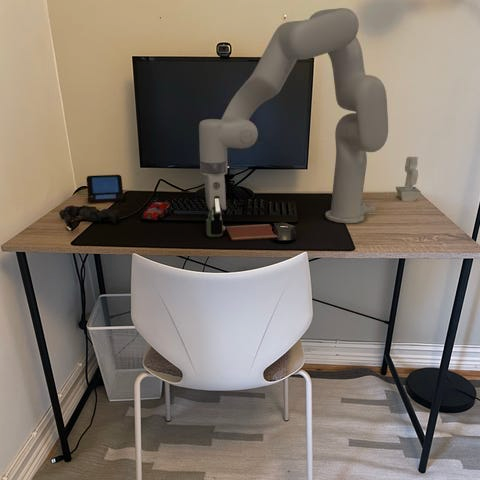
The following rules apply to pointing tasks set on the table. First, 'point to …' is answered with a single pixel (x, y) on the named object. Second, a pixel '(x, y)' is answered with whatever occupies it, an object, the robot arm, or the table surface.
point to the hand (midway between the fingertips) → (214, 229)
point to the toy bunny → (208, 226)
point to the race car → (156, 211)
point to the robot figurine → (89, 214)
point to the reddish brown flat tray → (251, 232)
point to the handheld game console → (104, 188)
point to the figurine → (409, 181)
